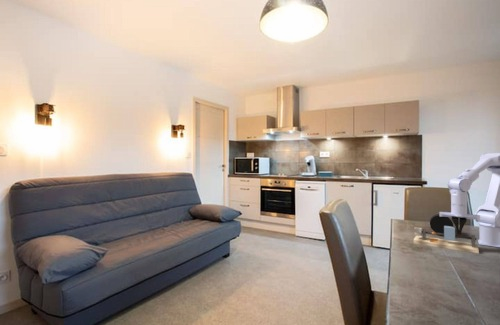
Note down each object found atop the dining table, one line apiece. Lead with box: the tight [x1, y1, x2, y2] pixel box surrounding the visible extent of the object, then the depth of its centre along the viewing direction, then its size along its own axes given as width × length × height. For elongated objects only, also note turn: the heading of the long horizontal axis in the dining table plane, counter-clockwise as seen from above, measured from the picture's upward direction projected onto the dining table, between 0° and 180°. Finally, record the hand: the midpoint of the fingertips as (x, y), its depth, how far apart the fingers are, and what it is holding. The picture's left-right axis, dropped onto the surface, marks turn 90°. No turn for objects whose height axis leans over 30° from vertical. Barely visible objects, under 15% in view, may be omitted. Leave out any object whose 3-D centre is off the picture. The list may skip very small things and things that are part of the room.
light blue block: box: [443, 226, 456, 241], centre depth 121 cm, size 4×4×6 cm
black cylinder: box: [429, 213, 454, 234], centre depth 151 cm, size 10×34×10 cm, turn 142°
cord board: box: [412, 226, 480, 254], centre depth 122 cm, size 24×10×6 cm, turn 52°
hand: (459, 233), depth 119 cm, fingers closed
